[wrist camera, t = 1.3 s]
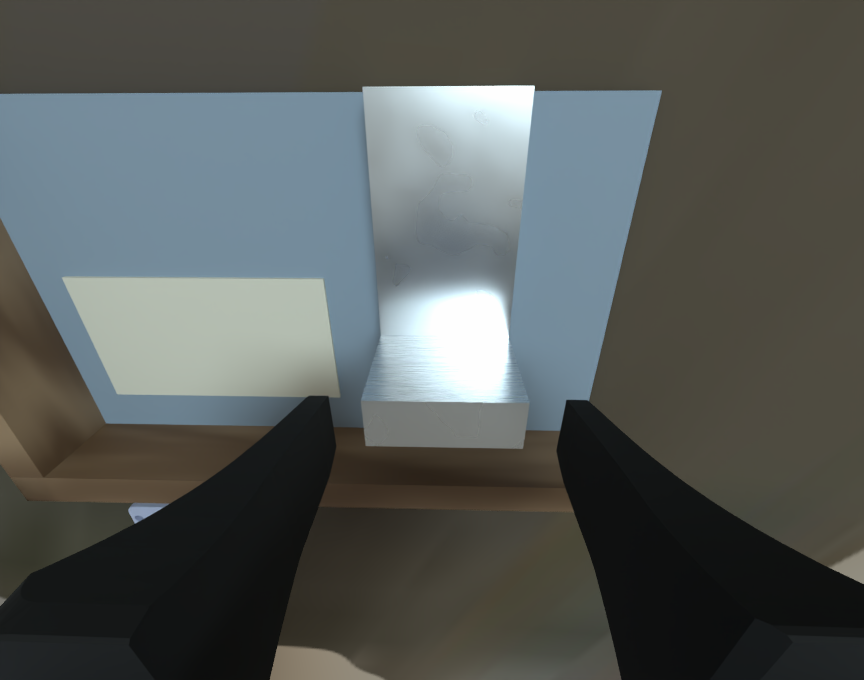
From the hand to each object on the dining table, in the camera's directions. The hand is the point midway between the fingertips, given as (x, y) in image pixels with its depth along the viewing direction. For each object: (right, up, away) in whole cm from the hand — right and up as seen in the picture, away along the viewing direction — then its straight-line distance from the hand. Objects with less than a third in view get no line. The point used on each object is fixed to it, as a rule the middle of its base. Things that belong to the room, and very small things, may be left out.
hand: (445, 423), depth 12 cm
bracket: (0, +6, +3) cm, 7 cm away
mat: (-6, +4, +5) cm, 9 cm away
